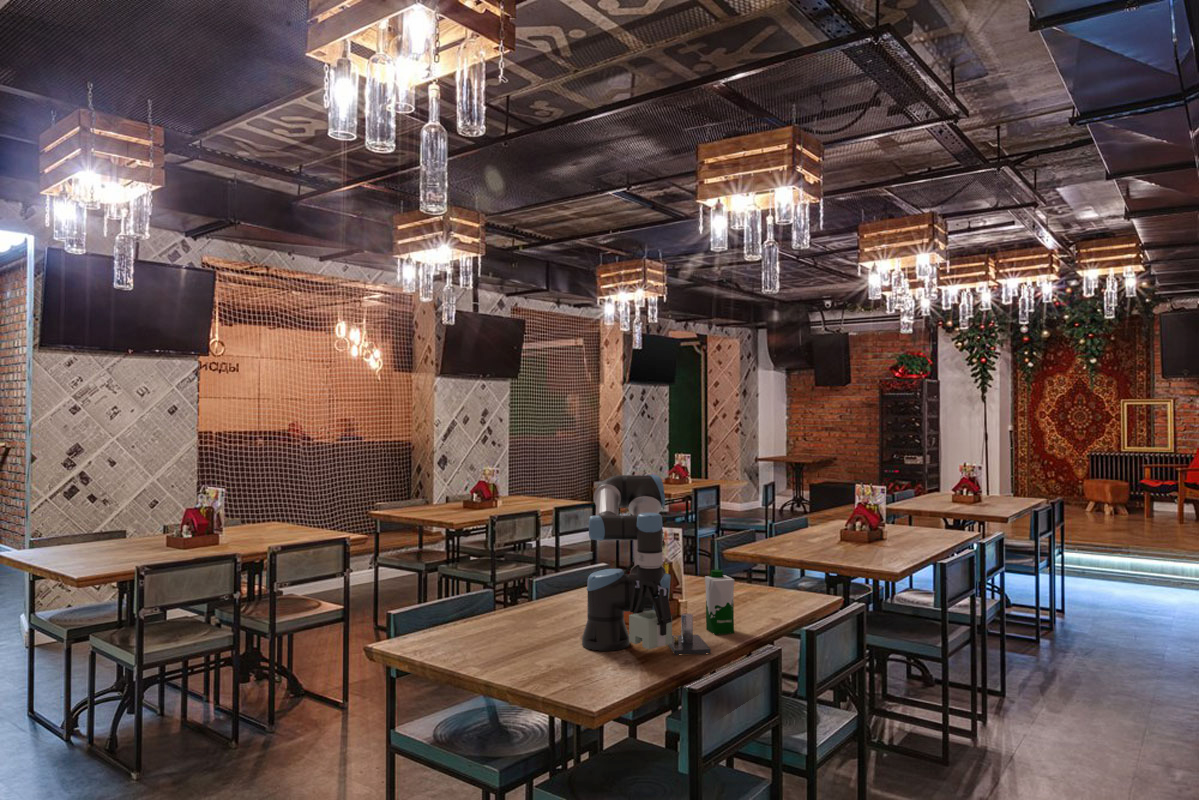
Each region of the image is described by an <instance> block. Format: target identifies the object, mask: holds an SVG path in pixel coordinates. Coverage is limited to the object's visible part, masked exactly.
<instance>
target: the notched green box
mask: <svg viewBox="0 0 1199 800" xmlns="http://www.w3.org/2000/svg"><path fill="white" fill-rule="evenodd" d="M667 619H668V618H667ZM671 619H672V620H673V617H672V615H671ZM657 623H659V622H658V619H657V616H656V612H655V611H654V610H650V611H645V612H640V613H636V614H633V613H631V614H629V615H628V634H629V642H630V643H632V644H634V645H638V644H641V642H642V644H641V645H642V648H644V649H646V650H652V649H656V648H658V647H657ZM672 636H673V622H670V623H667V624H666V635H665V641H666V645H665V646H668V644H672Z"/></svg>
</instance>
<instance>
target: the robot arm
mask: <svg viewBox="0 0 1199 800" xmlns="http://www.w3.org/2000/svg"><path fill="white" fill-rule="evenodd" d="M593 502H594V504H595V515H590V516H589V517H588V537H589V539H590V540H592V541H633V556H634V557H633V559H634V561H633V562H634V565H633V567H631V569H630V571H629V573H625V572H624V569H622V568H606V569H602V570H597V571H594V572H592V573H590V575H588V577H587V583H586V584H587V585H586V591H587V606H586V607H587V611H586V612H587V613H586V614H587V621H586V623H585V624H586V625H585V627H584V630H583V634H582V636H581V637H582V638H581V645H583V646H584V647H583V646H582V647H583V648H585V647H586V648H585V649H587V648H588V649H587V650H590V649H592V650H591V651H596V650H599V652H615V651H621V650H624V649H626V648H628V647H630V643H631V642H629V630H628V629H627V626H626V622H625V612H630V613H631V614H636V613H640V612H645V611H650V610H654V611H655V612H656V616H657V619H658V622H659V623H657V648H660V647H664V646H667V645H666V641H665V635H666V624H667V623H670V622H672V621H673V618H672V619H671V616H672V612H671V608H670V607H671V606H670V590H671V589H670V587H671V574H669V573H666V568H665V567H664V566H663V564H664V562H663V557H664V556H663V527H664V525H663V515H661V514H660V512H661V510H662V508H665V505H666V495H665V487H664V482H663V480H662V478H661V477H660V476H659V475H656V474H645V475H636V474H635V475H634V474H633V475H632V474H625V475H624V474H618V475H613V476H609V477H608V478H605V479H604V480H603V481H601V482H600V483H599V484H597V486H596V487H595V489H594V492H593ZM621 508H623V509H624V508H625V509H626V508H627V510H628V512H629V513H630V515H622V514H621V515H620V514H619V512H620V511H619V510H620V509H621ZM667 618H668V619H667ZM672 623H673V622H672ZM620 649H621V650H620ZM614 650H615V651H614Z"/></svg>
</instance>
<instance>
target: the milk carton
mask: <svg viewBox="0 0 1199 800" xmlns="http://www.w3.org/2000/svg"><path fill="white" fill-rule="evenodd" d="M704 584H705V623H706V628H705V629H706V630H707V631H708V630H709V631H708V632H710V633H711V632H712V634H713V633H714V634H715V635H714V634H713V635H714V636H717V635H716V634H719V635H728V634H735V626H734V625H735V624H734V621H735V618H734V615H735V614H734V611H735V610H734V609H735V607H734V605H735V604H734V588H735V587H734V586H735V579H734V578H732V577H730V576H727V575H726V574H724V571H723V569H711V570H710V575H707V576H706V575H705V576H704Z"/></svg>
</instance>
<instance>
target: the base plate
mask: <svg viewBox="0 0 1199 800" xmlns="http://www.w3.org/2000/svg"><path fill="white" fill-rule="evenodd" d="M693 618H694V616H693V614H692V613H682V614H680V625H681V627H680V629H681V631H680V633H681V634H680V635H679V634H678V635H676V634H675V635H673V634H672V644H668V645H669V646H668V645H667V646H668V647H669V648H671V649H672V650H671V649H670V650H671V651H672V653H673V652H674V653H673V654H674V656H680V655H679V654H698V655H707V654H706V653H711V654H712V651H711V650H712V649H711V648H710V647H709V646H708V644H707V643H706V642H705V640H704V639H703V638H702V637H701V636H700V635H699V634H694V633H693V632H694V627H693V626H694V624H693V623H694V619H693Z"/></svg>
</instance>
